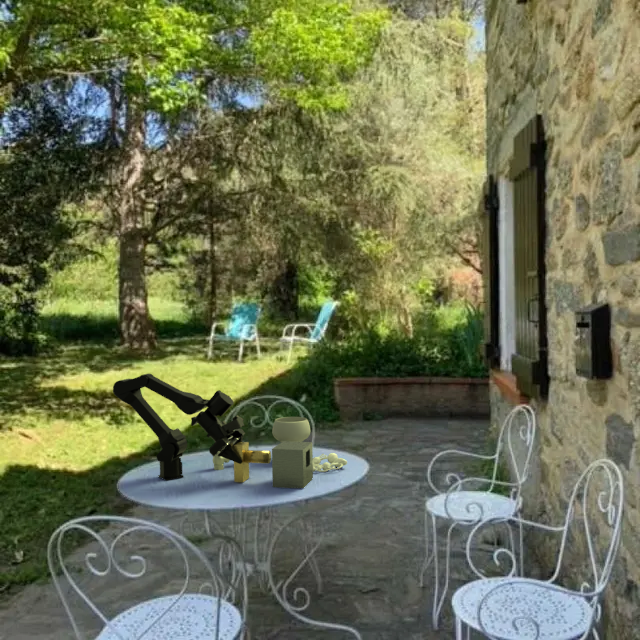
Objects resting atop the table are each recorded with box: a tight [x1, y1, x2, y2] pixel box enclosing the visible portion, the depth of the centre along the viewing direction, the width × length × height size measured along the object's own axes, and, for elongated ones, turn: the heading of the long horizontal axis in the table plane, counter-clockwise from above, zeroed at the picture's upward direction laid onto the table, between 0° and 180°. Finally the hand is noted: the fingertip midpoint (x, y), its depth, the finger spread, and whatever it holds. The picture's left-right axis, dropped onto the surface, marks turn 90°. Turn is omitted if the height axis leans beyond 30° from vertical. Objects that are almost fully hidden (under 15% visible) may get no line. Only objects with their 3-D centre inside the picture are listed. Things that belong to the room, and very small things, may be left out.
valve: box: [212, 451, 231, 471], centre depth 239 cm, size 7×7×12 cm
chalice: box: [271, 416, 311, 443], centre depth 248 cm, size 14×14×15 cm
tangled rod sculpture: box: [313, 452, 348, 473], centre depth 233 cm, size 19×14×4 cm
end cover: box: [233, 441, 272, 483], centre depth 218 cm, size 11×6×12 cm, turn 77°
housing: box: [271, 441, 314, 489], centre depth 215 cm, size 10×12×12 cm
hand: (245, 460), depth 219 cm, fingers closed on end cover, 6 cm apart
